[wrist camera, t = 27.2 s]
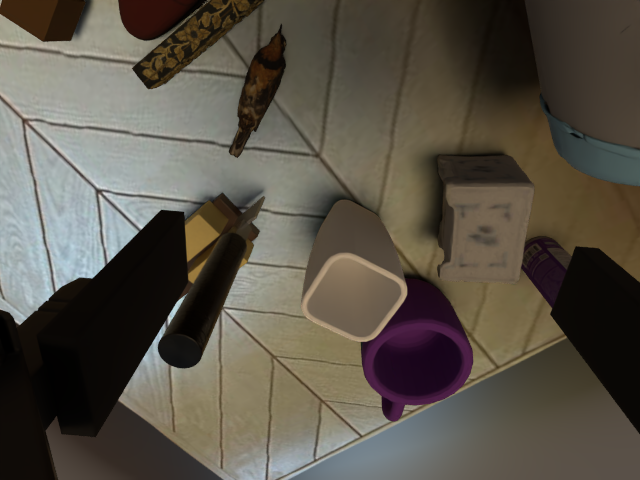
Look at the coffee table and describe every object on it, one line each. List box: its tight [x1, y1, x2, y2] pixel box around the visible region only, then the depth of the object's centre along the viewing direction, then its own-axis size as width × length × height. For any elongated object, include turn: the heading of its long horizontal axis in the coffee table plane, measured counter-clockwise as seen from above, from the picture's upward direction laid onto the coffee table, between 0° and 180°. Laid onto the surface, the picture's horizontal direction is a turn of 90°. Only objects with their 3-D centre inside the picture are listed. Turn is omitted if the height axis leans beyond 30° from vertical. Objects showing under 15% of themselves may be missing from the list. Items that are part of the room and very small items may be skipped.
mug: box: [361, 278, 473, 421], centre depth 50 cm, size 17×11×10 cm, turn 170°
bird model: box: [229, 24, 286, 158], centre depth 42 cm, size 3×14×3 cm, turn 151°
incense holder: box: [437, 155, 534, 284], centre depth 42 cm, size 10×8×10 cm
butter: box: [185, 200, 254, 283], centre depth 47 cm, size 6×7×4 cm
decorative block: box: [132, 0, 264, 89], centre depth 39 cm, size 15×2×4 cm, turn 124°
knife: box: [158, 196, 265, 368], centre depth 36 cm, size 4×3×23 cm, turn 131°
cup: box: [301, 200, 407, 342], centre depth 42 cm, size 7×7×15 cm
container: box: [521, 237, 572, 308], centre depth 43 cm, size 5×5×15 cm
